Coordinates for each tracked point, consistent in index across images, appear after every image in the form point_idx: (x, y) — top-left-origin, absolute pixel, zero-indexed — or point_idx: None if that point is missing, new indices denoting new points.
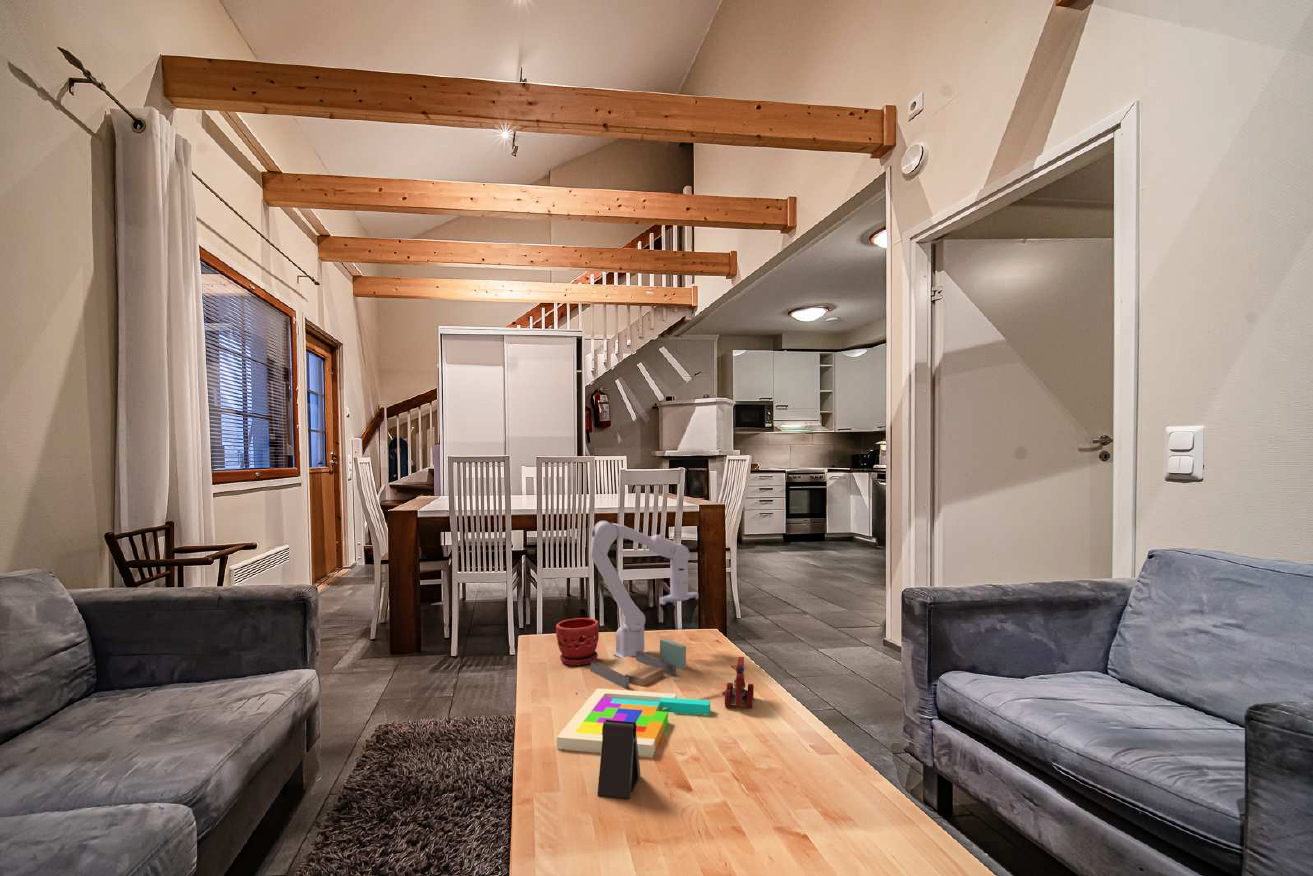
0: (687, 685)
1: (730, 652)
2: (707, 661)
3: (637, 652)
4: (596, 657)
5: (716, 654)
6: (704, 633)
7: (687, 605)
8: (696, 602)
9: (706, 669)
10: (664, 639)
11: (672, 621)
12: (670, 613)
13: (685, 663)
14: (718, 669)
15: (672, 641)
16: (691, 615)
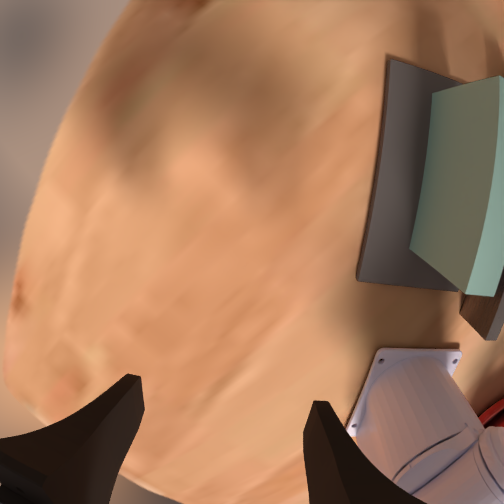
0: (496, 24)
1: (57, 155)
2: (231, 122)
3: (499, 331)
4: (499, 406)
5: (117, 174)
6: (22, 379)
7: (94, 493)
8: (12, 456)
9: (329, 48)
10: (479, 283)
11: (329, 423)
12: (380, 473)
13: (451, 89)
14: (285, 11)
15: (488, 213)
16: (109, 404)
